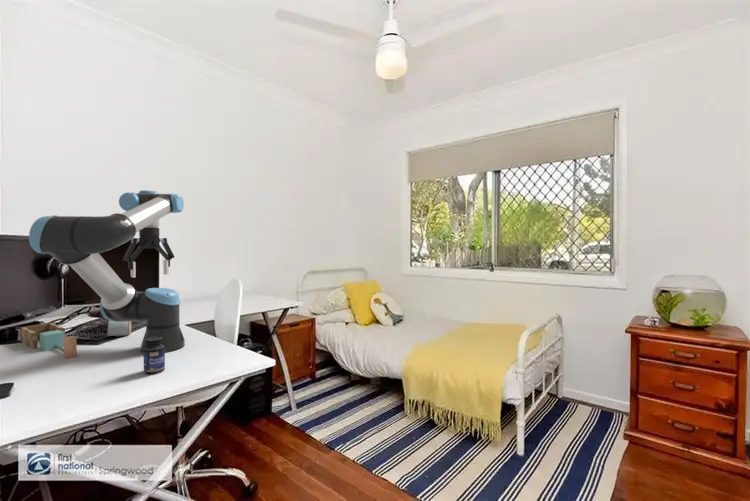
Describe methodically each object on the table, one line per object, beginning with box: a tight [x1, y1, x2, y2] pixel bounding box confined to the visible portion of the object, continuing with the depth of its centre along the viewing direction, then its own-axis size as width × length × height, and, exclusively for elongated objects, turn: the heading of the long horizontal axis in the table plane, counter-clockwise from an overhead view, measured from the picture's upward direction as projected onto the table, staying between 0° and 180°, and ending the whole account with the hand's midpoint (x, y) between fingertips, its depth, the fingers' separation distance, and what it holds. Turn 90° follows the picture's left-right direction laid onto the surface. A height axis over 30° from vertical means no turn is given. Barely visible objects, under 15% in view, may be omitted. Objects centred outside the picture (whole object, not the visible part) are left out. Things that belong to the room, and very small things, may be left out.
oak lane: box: [19, 322, 66, 350], centre depth 155 cm, size 16×10×6 cm, turn 56°
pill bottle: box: [142, 337, 166, 374], centre depth 125 cm, size 6×6×11 cm
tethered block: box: [39, 330, 78, 359], centre depth 144 cm, size 22×6×7 cm, turn 57°
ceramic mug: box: [107, 320, 132, 337], centre depth 167 cm, size 11×8×8 cm
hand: (150, 275), depth 164 cm, fingers open, 13 cm apart
